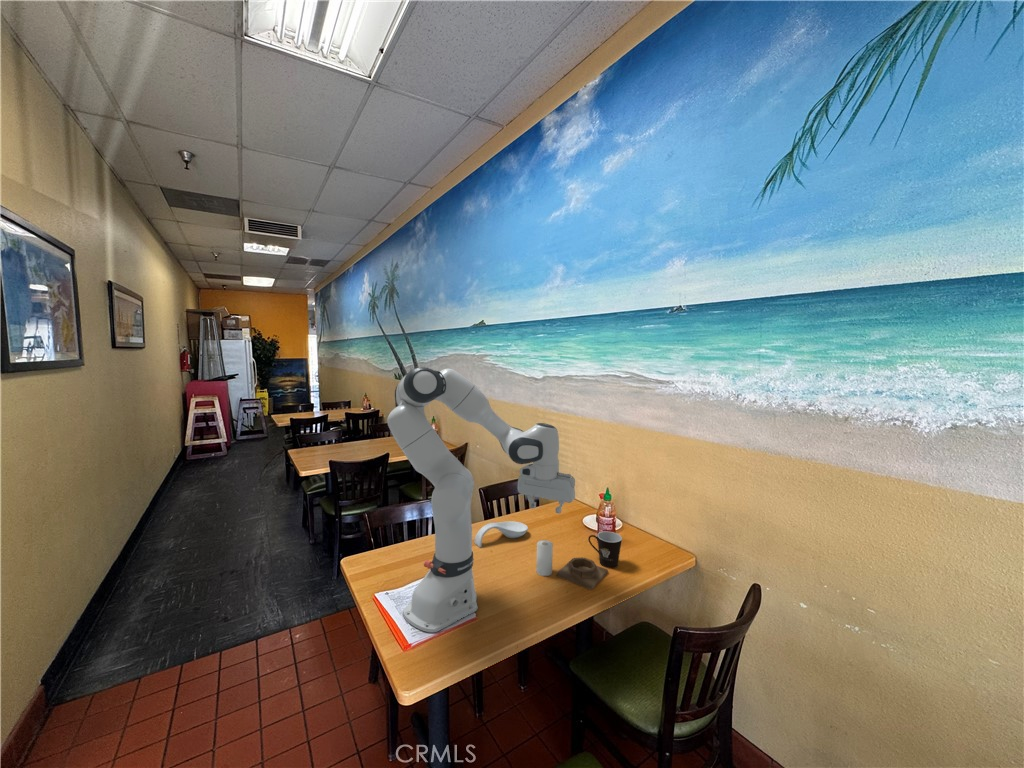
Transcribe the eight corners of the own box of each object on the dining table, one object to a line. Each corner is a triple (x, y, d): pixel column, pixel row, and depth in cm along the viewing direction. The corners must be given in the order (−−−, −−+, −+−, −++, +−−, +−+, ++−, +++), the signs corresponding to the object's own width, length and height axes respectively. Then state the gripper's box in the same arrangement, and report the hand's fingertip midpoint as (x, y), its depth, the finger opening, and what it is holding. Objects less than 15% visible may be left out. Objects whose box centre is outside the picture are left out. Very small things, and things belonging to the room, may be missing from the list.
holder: (591, 590, 123) (591, 579, 123) (556, 575, 131) (556, 565, 131) (607, 572, 134) (608, 562, 133) (574, 560, 141) (574, 551, 141)
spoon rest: (516, 526, 169) (516, 510, 169) (533, 536, 160) (533, 520, 160) (469, 540, 156) (469, 523, 155) (485, 552, 146) (485, 534, 146)
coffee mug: (626, 566, 138) (627, 539, 137) (608, 572, 134) (609, 544, 133) (603, 551, 148) (604, 526, 147) (586, 557, 144) (586, 531, 143)
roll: (546, 578, 129) (547, 549, 129) (533, 572, 133) (534, 544, 132) (554, 571, 134) (555, 543, 133) (541, 566, 137) (542, 538, 136)
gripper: (578, 472, 129) (577, 512, 130) (523, 464, 139) (523, 501, 140) (571, 477, 123) (571, 519, 124) (515, 468, 133) (515, 507, 134)
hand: (545, 510), depth 132 cm, fingers open, 8 cm apart
